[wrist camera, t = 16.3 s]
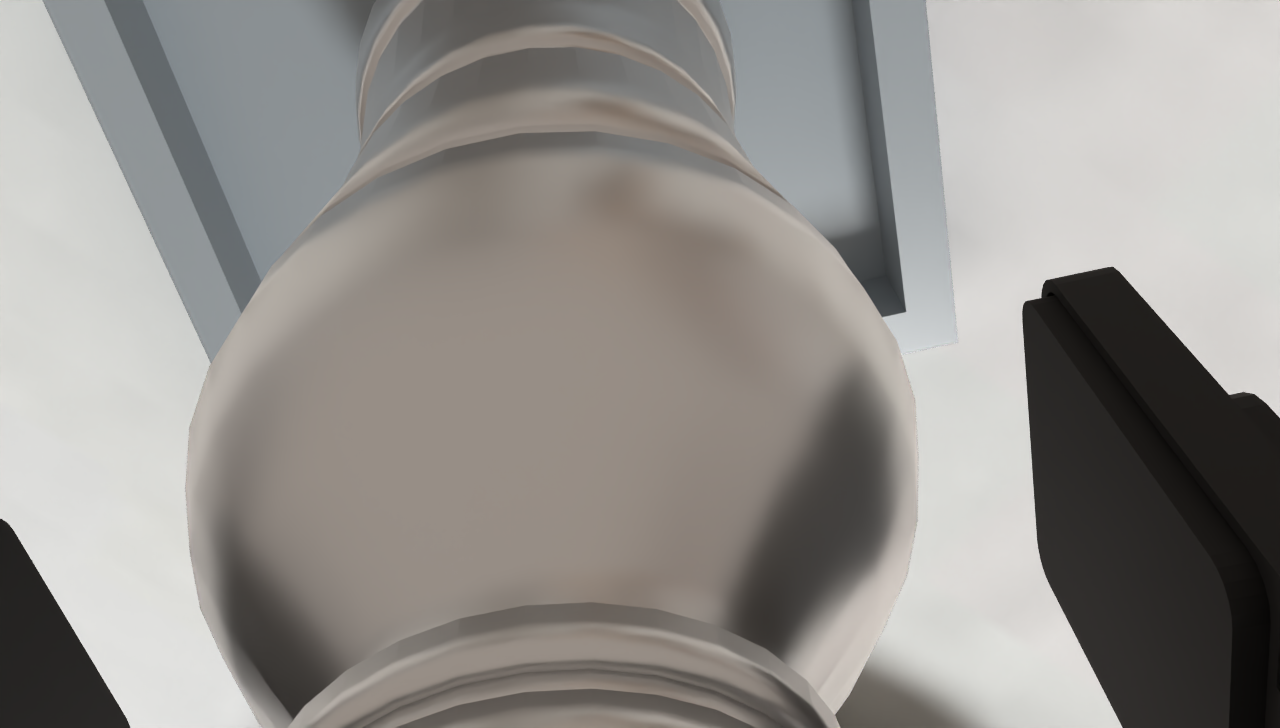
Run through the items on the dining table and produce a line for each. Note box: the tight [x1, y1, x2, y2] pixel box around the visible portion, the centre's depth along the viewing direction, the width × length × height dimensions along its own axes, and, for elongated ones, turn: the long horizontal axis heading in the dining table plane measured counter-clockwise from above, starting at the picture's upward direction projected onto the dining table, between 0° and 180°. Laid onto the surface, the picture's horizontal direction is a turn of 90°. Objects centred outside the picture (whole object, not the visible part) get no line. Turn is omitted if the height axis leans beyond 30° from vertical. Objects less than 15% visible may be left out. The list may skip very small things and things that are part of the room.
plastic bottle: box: [185, 0, 918, 728], centre depth 15 cm, size 6×7×20 cm
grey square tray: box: [43, 0, 958, 363], centre depth 23 cm, size 15×15×2 cm
